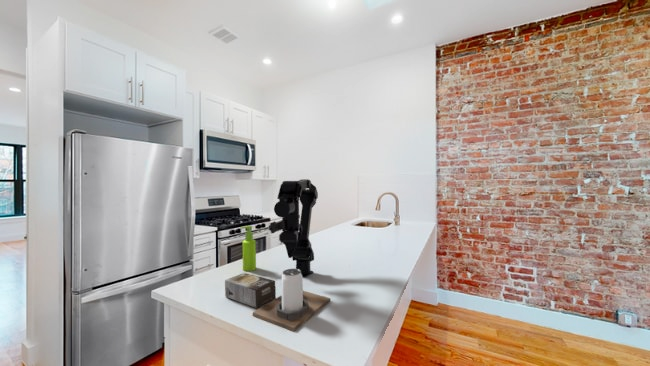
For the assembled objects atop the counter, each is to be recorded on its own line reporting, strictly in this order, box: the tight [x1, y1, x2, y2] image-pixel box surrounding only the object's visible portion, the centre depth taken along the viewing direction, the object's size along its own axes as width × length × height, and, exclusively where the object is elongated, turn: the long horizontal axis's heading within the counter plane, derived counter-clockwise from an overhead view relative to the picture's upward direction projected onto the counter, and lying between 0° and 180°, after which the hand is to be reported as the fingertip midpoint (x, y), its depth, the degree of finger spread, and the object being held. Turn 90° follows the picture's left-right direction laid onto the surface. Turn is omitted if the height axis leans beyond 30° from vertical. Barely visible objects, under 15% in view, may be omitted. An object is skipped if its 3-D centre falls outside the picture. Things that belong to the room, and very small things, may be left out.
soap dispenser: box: [239, 225, 257, 272], centre depth 119 cm, size 6×7×20 cm
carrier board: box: [252, 290, 331, 332], centre depth 82 cm, size 20×16×3 cm
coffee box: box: [224, 272, 277, 309], centre depth 90 cm, size 9×6×16 cm
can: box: [281, 268, 304, 312], centre depth 79 cm, size 6×6×12 cm
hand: (292, 254), depth 98 cm, fingers open, 9 cm apart
